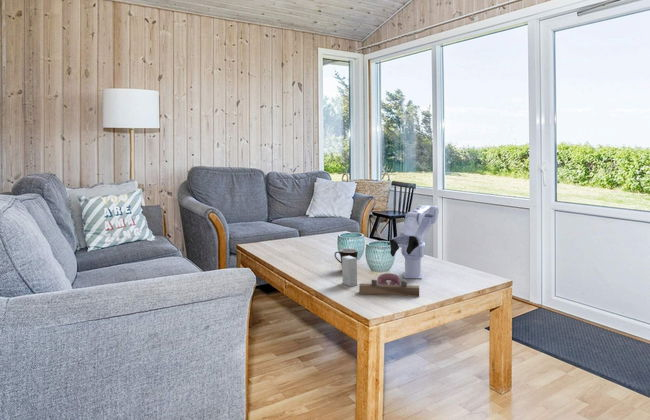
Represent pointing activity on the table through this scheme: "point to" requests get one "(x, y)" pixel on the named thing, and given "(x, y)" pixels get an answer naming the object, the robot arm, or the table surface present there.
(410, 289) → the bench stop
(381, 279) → the video game controller
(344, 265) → the skincare box
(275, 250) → the table surface
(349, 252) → the coffee mug
